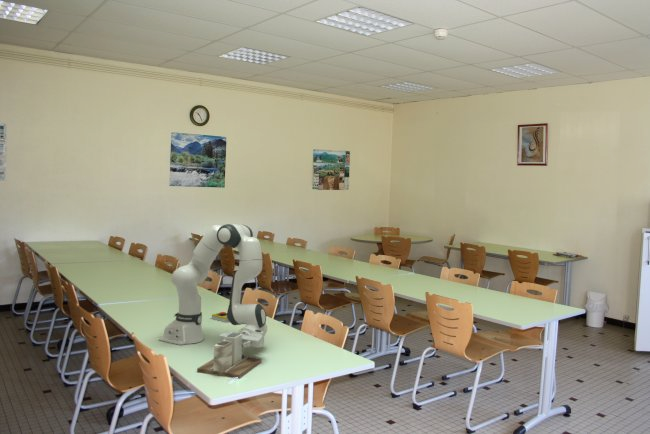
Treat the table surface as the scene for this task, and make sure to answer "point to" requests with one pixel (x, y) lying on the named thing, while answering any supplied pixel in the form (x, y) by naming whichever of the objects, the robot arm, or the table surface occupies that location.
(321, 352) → the table surface
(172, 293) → the table surface
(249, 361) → the rail board
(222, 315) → the emergency button
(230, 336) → the grey module block
